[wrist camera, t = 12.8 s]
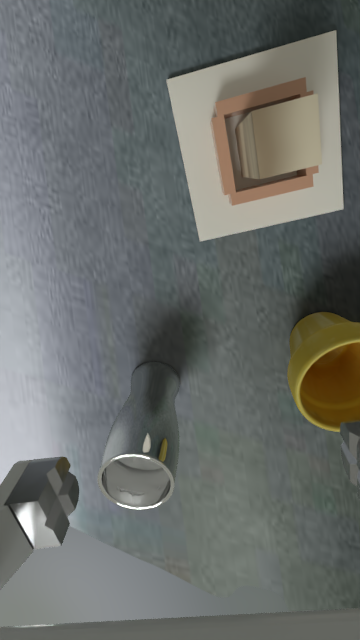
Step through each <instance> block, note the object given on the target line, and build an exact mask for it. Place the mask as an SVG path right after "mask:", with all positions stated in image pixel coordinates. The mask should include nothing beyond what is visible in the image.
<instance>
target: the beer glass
mask: <svg viewBox="0 0 360 640" xmlns="http://www.w3.org/2000/svg"><path fill="white" fill-rule="evenodd" d="M179 387H180V381H179V377H178V375H177V373H176V372H175V371H174V370H173V369H172V368H171V367H170V366H168V365H166V364H164V363H161V362H148V363H144V364H142V365H140V366H139V367H138V368H137V369H136V370H135V371H134V372H133V374H132V377H131V392H130V395H129V397H128V399H127V401H126V402H125V404H124V405H123V407H122V409H121V410H120V412H119V413H118V415H117V417H116V419H115V421H114V423H113V425H112V427H111V430H110V432H109V435H108V438H107V441H106V445H105V448H104V452H103V457H102V461H101V466H100V470H99V473H98V485H99V488H100V490H101V491H102V493H103V494H104V495H105V496H106V497H107V498H108V499H109V500H110V501H112V502H113V503H115V504H117V505H119V506H121V507H124V508H128V509H134V510H146V509H151V508H155V507H158V506H160V505H162V504H163V503H165V502H166V501H167V500H168V499H169V498H170V497H171V495H172V493H173V491H174V483H175V477H176V471H177V465H178V457H179V427H178V421H177V415H176V410H175V399H176V396H177V394H178V391H179Z"/></svg>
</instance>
